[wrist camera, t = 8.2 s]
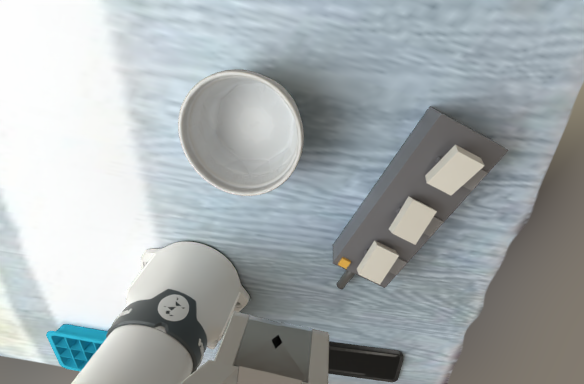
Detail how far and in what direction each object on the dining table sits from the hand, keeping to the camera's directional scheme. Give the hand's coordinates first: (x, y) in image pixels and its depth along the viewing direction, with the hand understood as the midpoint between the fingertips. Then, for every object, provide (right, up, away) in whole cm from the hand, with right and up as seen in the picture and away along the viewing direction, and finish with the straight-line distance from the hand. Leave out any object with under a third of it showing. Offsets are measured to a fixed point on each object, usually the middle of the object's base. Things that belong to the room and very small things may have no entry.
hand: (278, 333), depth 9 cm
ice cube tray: (-38, -28, +53) cm, 71 cm away
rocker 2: (+14, +1, +24) cm, 28 cm away
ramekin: (-4, +13, +27) cm, 30 cm away
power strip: (+14, +2, +30) cm, 33 cm away
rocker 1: (+11, -4, +27) cm, 30 cm away
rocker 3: (+17, +7, +21) cm, 28 cm away
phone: (+12, -26, +45) cm, 53 cm away
